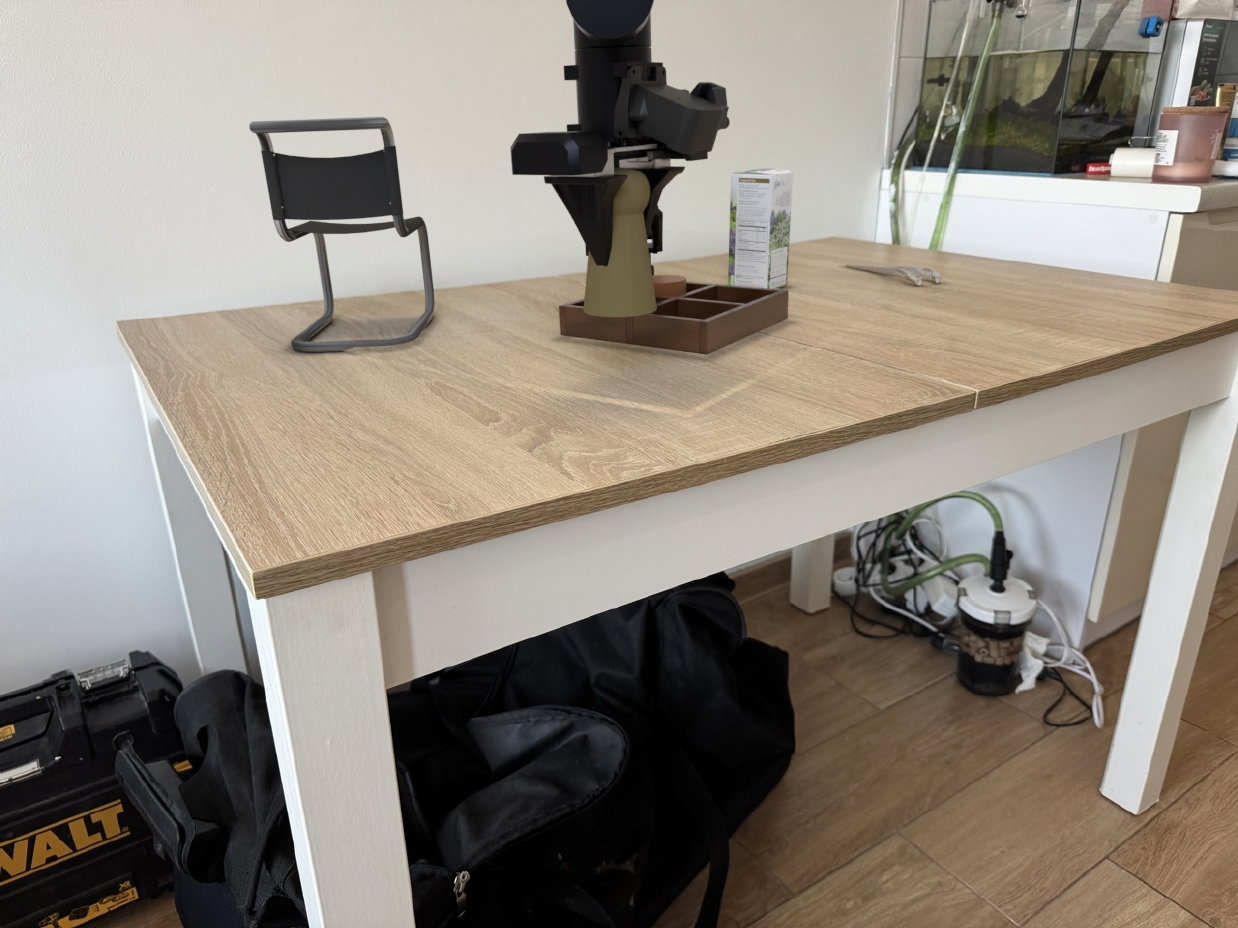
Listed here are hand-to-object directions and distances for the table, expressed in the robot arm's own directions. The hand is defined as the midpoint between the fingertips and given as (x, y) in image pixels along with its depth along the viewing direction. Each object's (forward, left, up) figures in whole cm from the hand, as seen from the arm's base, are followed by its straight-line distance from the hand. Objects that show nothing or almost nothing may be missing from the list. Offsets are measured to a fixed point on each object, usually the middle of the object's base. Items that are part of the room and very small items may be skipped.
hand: (619, 261), depth 73 cm
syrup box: (-10, +45, -11) cm, 47 cm away
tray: (-7, +20, -10) cm, 24 cm away
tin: (-11, +24, -10) cm, 28 cm away
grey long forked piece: (+1, +61, -11) cm, 62 cm away
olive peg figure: (0, 0, -4) cm, 4 cm away
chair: (-37, +4, -11) cm, 39 cm away
